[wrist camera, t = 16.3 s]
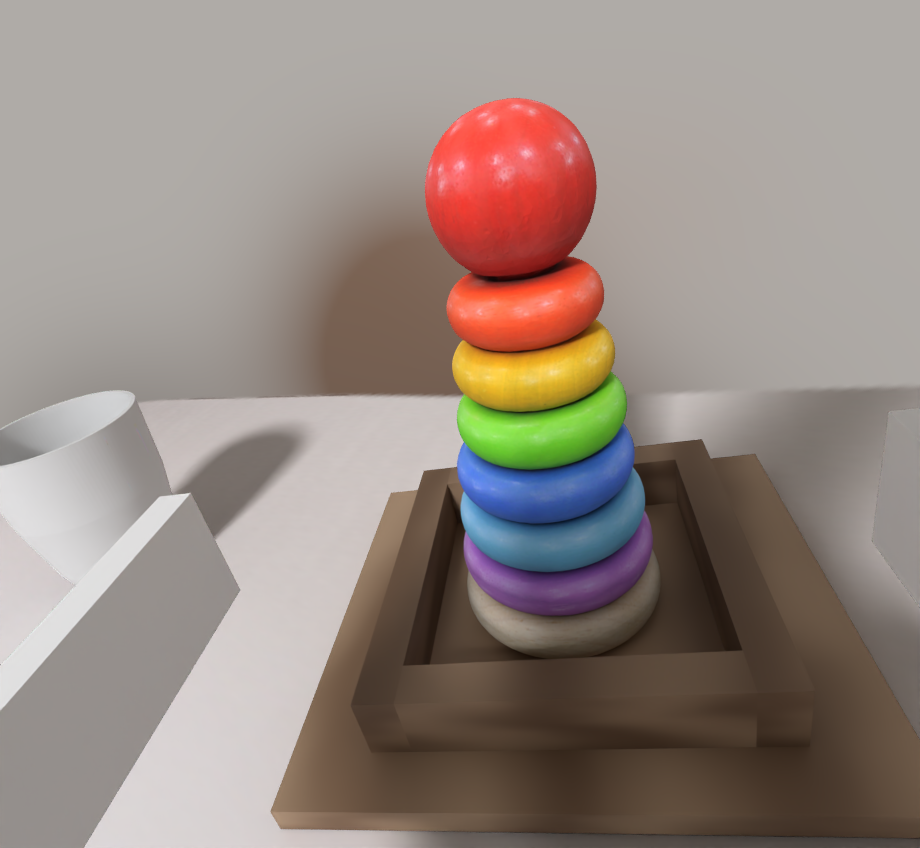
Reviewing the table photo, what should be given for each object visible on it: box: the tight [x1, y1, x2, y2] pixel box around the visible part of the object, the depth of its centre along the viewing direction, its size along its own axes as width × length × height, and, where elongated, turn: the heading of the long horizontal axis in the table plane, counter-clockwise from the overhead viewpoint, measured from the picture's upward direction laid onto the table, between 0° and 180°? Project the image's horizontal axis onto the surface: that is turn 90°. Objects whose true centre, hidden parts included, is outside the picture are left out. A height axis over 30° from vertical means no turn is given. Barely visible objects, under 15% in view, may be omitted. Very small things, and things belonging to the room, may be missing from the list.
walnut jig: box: [271, 439, 920, 838], centre depth 25 cm, size 20×18×4 cm
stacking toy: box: [425, 98, 661, 659], centre depth 21 cm, size 8×8×19 cm
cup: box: [0, 390, 172, 586], centre depth 33 cm, size 8×8×10 cm
